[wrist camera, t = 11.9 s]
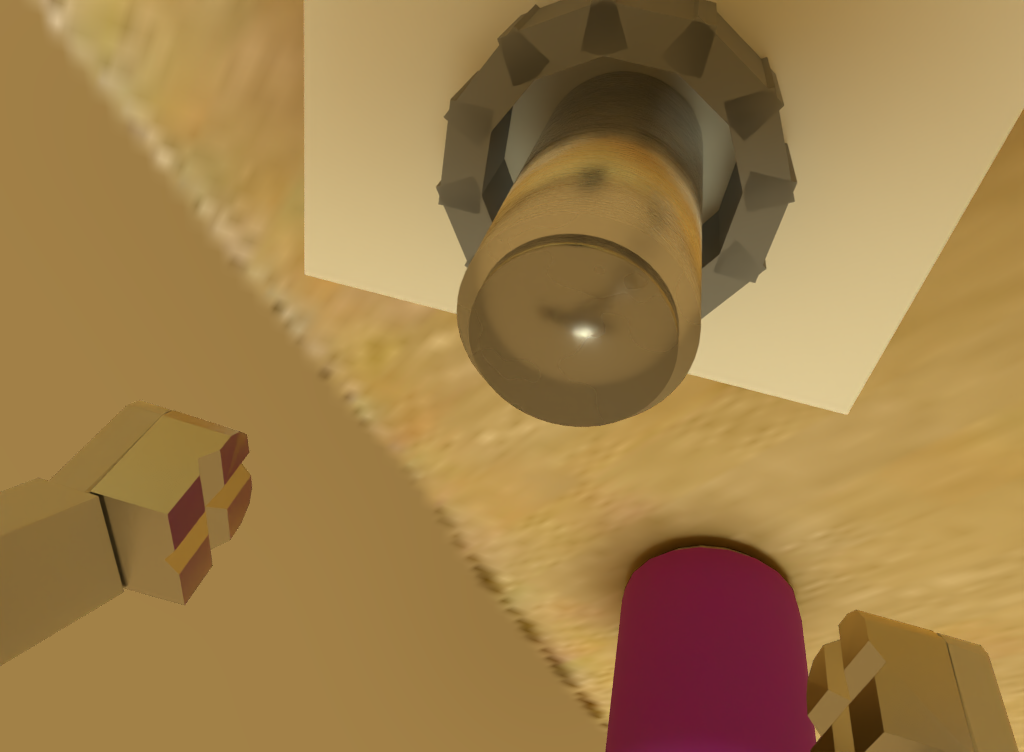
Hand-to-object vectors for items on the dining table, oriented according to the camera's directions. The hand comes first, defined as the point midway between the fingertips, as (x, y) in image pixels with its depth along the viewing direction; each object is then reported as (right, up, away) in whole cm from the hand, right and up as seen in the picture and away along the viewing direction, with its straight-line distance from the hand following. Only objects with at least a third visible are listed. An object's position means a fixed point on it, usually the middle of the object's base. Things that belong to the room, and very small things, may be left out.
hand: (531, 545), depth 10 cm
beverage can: (+9, -8, +25) cm, 27 cm away
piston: (+3, +9, +13) cm, 16 cm away
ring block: (+3, +9, +14) cm, 17 cm away
